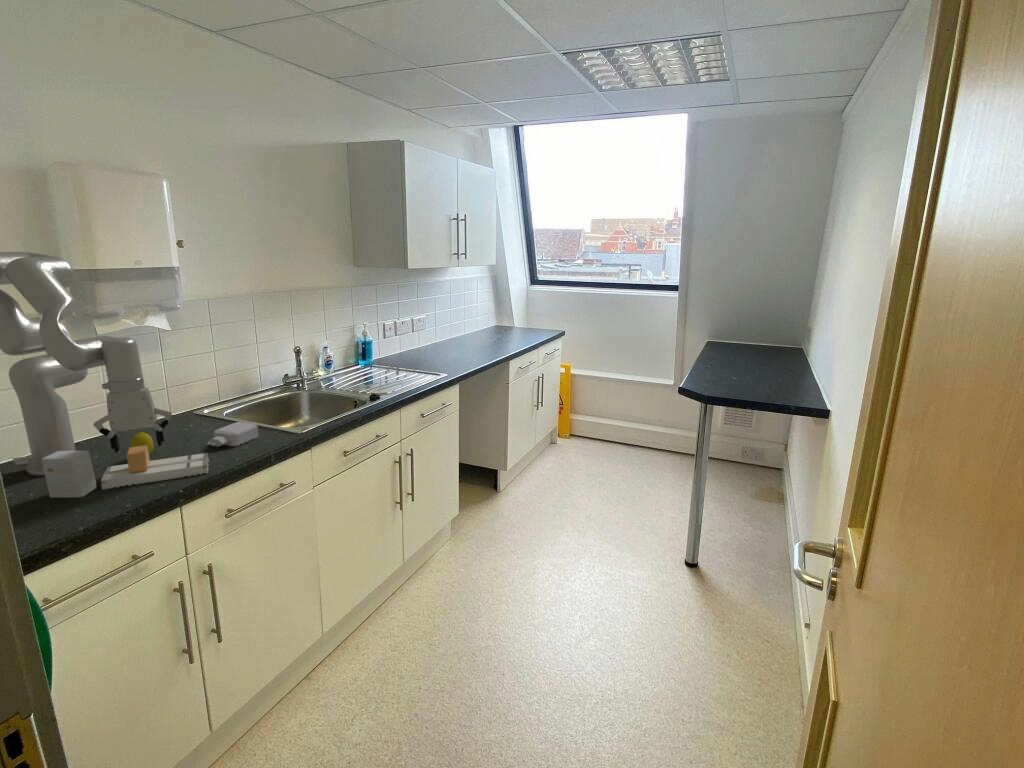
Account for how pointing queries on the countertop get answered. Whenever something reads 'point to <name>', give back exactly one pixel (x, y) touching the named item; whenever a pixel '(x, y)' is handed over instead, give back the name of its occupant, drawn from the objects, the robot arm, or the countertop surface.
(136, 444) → the lemon
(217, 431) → the grey bottle
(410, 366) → the countertop surface
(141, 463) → the fader knob
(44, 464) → the small box
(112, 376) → the robot arm
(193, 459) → the fader panel
